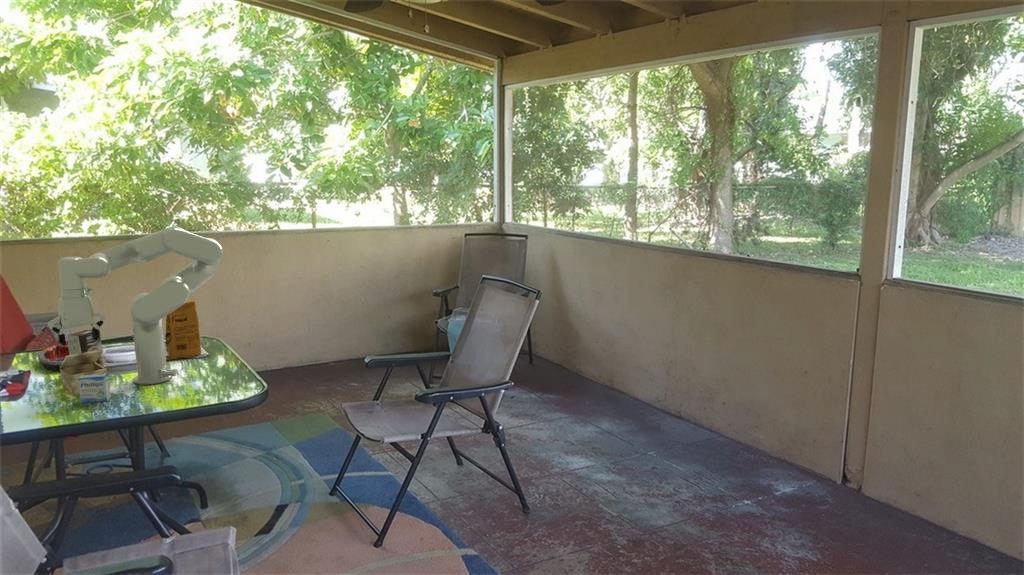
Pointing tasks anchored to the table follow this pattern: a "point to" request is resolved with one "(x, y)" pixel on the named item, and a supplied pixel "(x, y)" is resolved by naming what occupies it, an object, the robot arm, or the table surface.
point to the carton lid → (81, 358)
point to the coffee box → (84, 344)
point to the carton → (73, 373)
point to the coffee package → (183, 332)
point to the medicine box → (94, 388)
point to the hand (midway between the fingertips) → (79, 342)
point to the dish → (53, 356)
